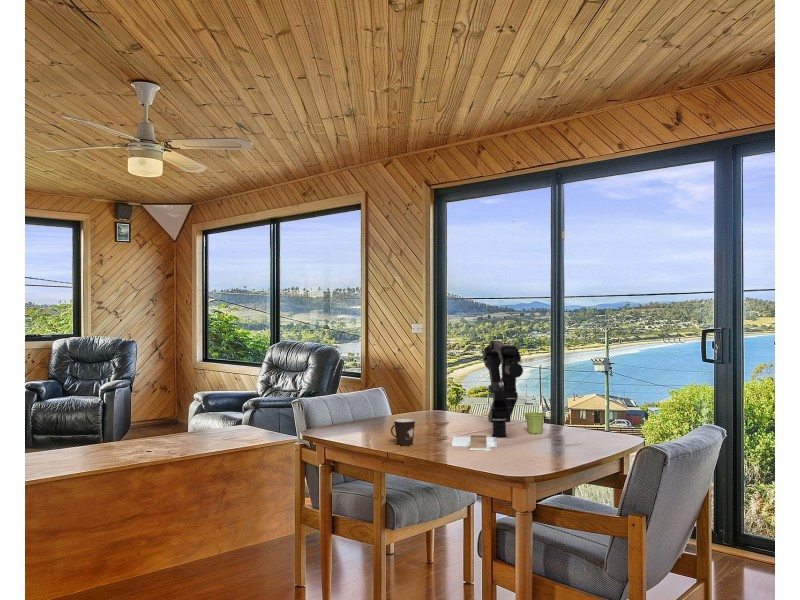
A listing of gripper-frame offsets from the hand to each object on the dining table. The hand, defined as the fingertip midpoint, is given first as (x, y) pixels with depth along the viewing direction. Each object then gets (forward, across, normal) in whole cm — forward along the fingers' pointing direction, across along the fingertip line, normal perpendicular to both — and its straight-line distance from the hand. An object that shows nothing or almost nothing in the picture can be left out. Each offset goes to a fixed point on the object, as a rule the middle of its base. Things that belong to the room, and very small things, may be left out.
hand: (509, 413), depth 255 cm
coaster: (+12, +14, -12) cm, 22 cm away
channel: (+12, +4, -15) cm, 20 cm away
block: (+11, +13, -13) cm, 22 cm away
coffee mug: (+12, +9, -44) cm, 47 cm away
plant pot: (+12, -24, +12) cm, 29 cm away
